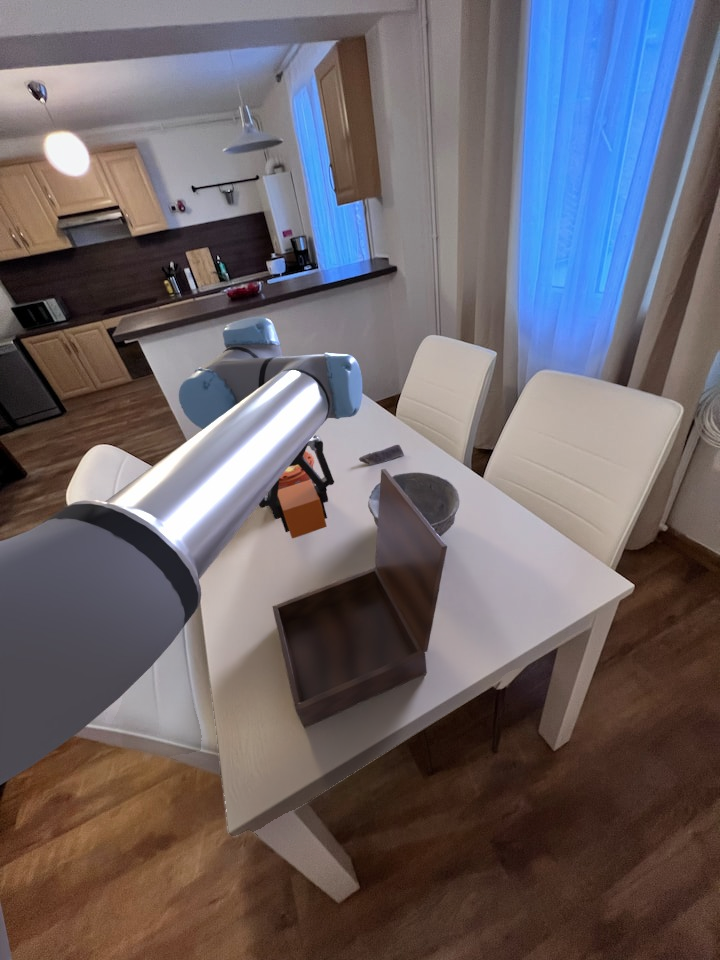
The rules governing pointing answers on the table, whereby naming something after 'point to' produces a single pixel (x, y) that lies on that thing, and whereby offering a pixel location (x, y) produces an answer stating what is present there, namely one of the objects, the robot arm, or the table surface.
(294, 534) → the cube
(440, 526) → the bowl
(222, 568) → the table surface
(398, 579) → the lid
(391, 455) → the artifact
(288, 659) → the box
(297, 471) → the food container
